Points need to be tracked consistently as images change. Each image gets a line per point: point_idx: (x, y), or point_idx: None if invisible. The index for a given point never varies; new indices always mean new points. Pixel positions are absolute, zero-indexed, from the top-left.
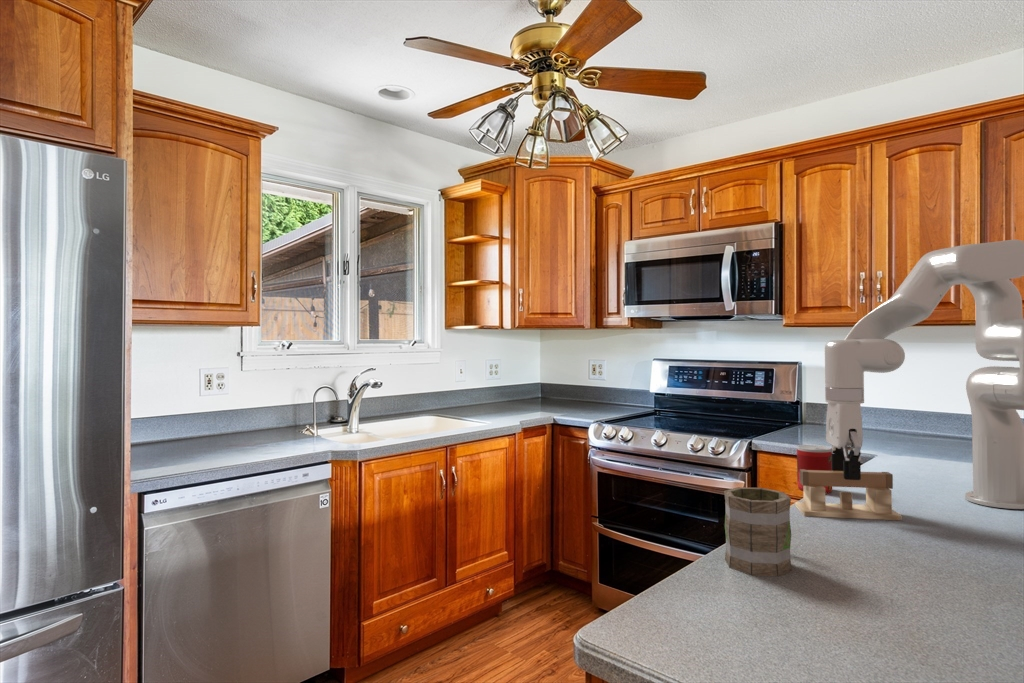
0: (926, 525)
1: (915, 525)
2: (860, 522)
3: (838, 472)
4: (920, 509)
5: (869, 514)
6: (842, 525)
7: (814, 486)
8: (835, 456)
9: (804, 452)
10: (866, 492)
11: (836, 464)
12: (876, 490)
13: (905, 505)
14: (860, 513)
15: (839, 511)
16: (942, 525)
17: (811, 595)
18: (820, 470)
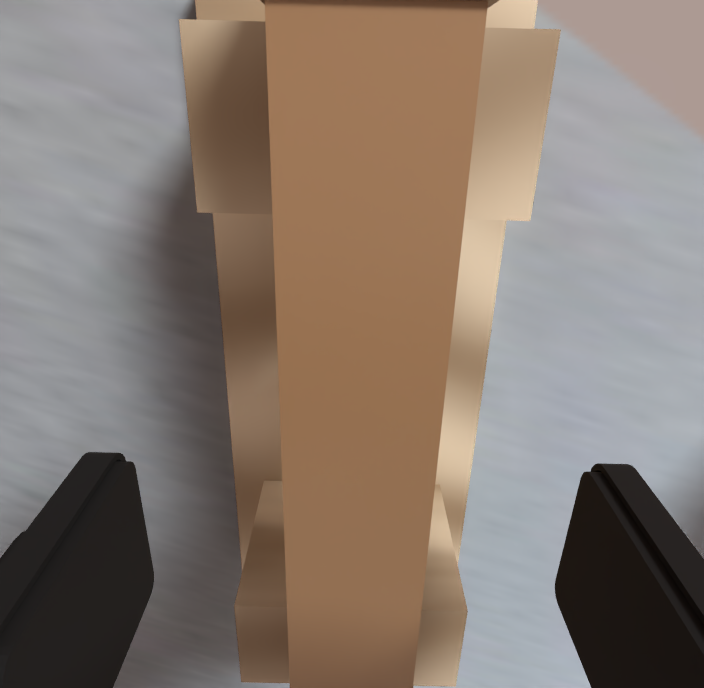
0: (182, 615)
1: (167, 577)
2: (140, 348)
3: (330, 475)
4: (478, 684)
5: (233, 438)
6: (21, 212)
7: (259, 100)
8: (687, 683)
9: None
10: (442, 553)
11: (617, 569)
12: (235, 605)
13: (554, 658)
14: (237, 395)
15: (260, 278)
16: (202, 665)
17: None
18: (457, 279)
